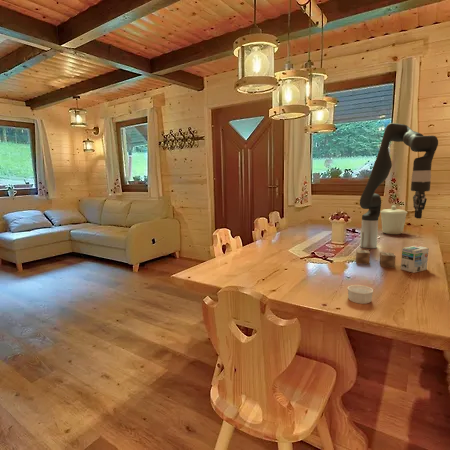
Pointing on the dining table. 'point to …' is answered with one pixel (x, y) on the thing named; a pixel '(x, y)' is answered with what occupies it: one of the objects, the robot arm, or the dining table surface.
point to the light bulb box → (414, 258)
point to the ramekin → (360, 294)
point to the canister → (393, 220)
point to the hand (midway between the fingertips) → (417, 217)
